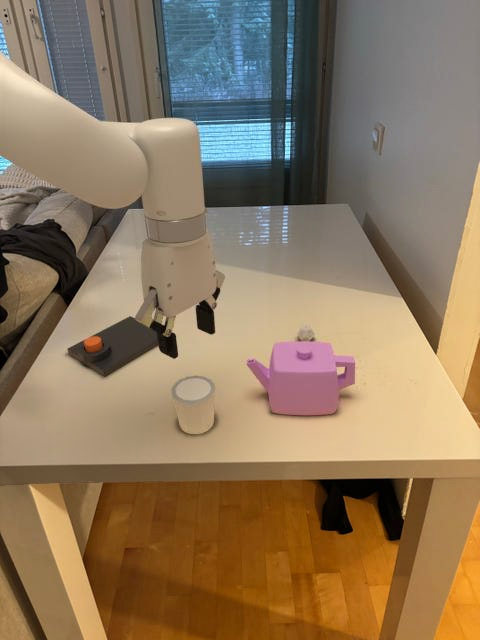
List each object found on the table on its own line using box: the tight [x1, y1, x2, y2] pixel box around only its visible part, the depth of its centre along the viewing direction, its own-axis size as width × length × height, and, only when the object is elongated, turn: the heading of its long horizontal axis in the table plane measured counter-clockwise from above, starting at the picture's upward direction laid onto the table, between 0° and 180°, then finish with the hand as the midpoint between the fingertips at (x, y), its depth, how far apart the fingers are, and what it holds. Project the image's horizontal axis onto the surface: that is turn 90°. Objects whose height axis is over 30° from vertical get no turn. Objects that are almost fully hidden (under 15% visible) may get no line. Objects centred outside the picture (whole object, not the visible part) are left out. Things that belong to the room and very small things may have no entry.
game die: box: [296, 324, 316, 342], centre depth 95 cm, size 4×4×3 cm
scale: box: [67, 315, 159, 377], centre depth 95 cm, size 17×12×3 cm
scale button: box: [84, 335, 103, 352], centre depth 90 cm, size 3×3×2 cm
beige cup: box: [170, 375, 216, 435], centre depth 74 cm, size 7×7×7 cm
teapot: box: [246, 340, 356, 416], centre depth 78 cm, size 18×10×10 cm, turn 87°
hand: (188, 341), depth 68 cm, fingers open, 7 cm apart
